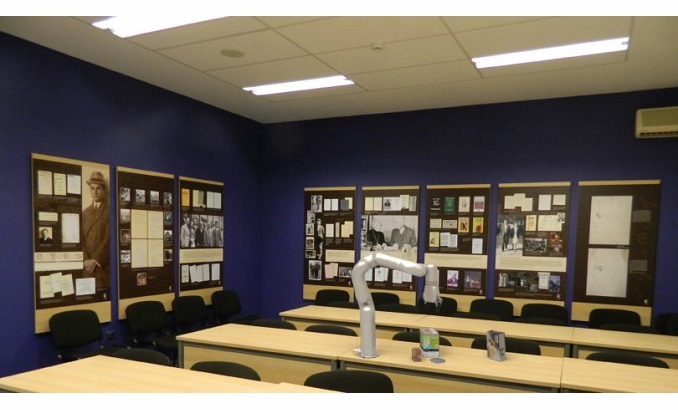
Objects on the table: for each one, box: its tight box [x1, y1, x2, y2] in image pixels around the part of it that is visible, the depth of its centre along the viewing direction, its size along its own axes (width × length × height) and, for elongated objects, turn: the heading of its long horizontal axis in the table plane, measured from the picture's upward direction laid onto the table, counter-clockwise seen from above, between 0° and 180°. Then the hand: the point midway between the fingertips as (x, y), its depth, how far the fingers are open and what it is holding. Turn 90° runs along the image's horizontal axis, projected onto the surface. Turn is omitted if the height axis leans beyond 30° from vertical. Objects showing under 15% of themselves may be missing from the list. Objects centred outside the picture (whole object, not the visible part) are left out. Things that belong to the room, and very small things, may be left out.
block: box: [411, 347, 423, 363], centre depth 263 cm, size 5×5×7 cm
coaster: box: [429, 357, 446, 364], centre depth 261 cm, size 9×9×1 cm
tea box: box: [419, 327, 440, 358], centre depth 276 cm, size 15×10×15 cm, turn 179°
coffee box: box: [486, 329, 507, 362], centre depth 263 cm, size 9×6×16 cm
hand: (432, 311), depth 274 cm, fingers open, 9 cm apart
